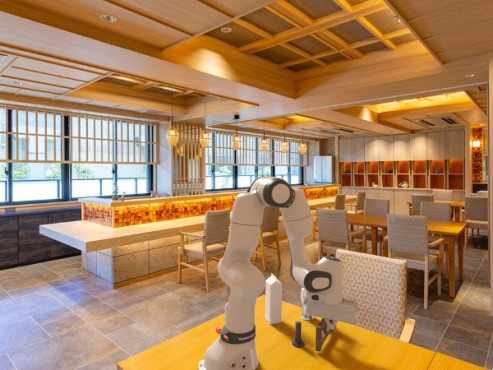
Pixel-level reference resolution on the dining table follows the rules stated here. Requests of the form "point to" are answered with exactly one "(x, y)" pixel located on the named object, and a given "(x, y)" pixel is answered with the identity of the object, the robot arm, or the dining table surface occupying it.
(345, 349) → the dining table surface
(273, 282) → the milk
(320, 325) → the gate
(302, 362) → the dining table surface
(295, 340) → the post
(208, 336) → the dining table surface
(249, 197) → the robot arm
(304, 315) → the beer glass
